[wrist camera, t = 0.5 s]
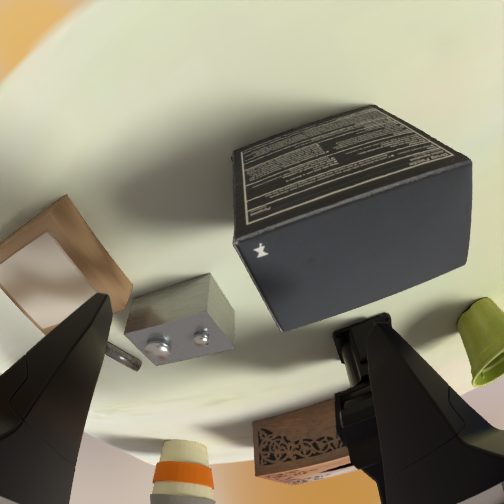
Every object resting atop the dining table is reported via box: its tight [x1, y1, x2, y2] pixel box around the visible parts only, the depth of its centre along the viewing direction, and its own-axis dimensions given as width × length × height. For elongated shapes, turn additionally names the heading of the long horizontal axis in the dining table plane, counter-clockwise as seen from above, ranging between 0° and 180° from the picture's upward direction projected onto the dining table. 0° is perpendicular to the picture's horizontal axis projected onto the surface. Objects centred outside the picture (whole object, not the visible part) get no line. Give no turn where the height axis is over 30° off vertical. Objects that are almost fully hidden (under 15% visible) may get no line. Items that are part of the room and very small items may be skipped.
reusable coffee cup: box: [150, 440, 215, 504], centre depth 47 cm, size 13×13×15 cm
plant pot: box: [457, 298, 504, 387], centre depth 28 cm, size 9×9×9 cm
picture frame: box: [0, 195, 133, 335], centre depth 23 cm, size 10×12×3 cm
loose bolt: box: [105, 342, 142, 371], centre depth 31 cm, size 6×2×2 cm, turn 42°
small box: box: [231, 105, 472, 332], centre depth 16 cm, size 11×6×10 cm, turn 112°
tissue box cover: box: [253, 398, 358, 485], centre depth 41 cm, size 26×14×10 cm, turn 120°
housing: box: [124, 273, 235, 366], centre depth 26 cm, size 5×8×5 cm, turn 111°
